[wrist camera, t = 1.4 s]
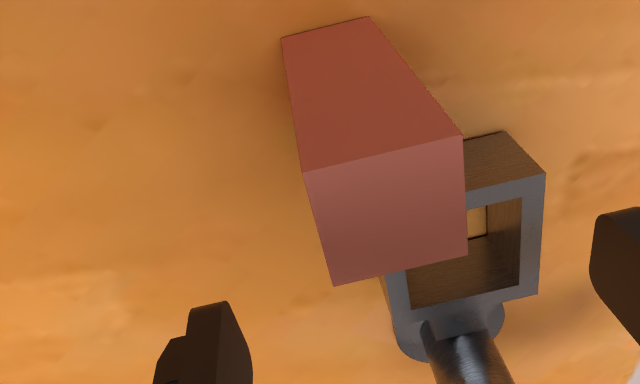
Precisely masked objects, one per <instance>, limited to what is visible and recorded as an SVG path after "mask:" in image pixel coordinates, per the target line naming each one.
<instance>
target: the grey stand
mask: <svg viewBox="0 0 640 384" xmlns="http://www.w3.org/2000/svg"><path fill="white" fill-rule="evenodd" d="M463 156H464V177H465V198H466V210H469V209H473V208H478V207H482V206H486V205H487V232H488V236H485V237H480V238H476V239H472V240H468V255H466V256H462V257H457V258H453V259H449V260H445V261H440V262H436V263H432V264H428V265H423V266H419V267H415V268H411V269H407V270H402V271H398V272H394V273H390V274H385V275H381V276H379V279H380V283H381V286H382V289H383V292H384V296H385V299H386V302H387V305H388V309H389V312H390V315H391V318H392V322H393V329H394V333H395V336H396V340H397V343H398V346H399V347H400V349H401V350H402V351H403V353H405V354H406V355H407V356H409V357H410V358H412V359H415V360H417V361H421V362H426V363H430V366H431V368H432V371H433V374H434V377H435V380H436V382H437V384H515V382H514V380H513V378H512V376H511V375H510V373H509V371H508V369H507V367H506V365H505V363H504V361H503V359H502V357H501V355H500V353H499V351H498V349H497V347H496V345H495V343H494V341H493V339H494V338H495V337H496V335H497V334H498V333H499V331H500V329H501V327H502V325H503V322H504V317H505V313H504V308H503V305H502V302H506V301H510V300H515V299H519V298H523V297H527V296H532V295H536V294H538V282H539V268H540V253H541V238H542V223H543V208H544V193H545V178H546V172H545V171H544V170H543V169H542V168H541V167H540V166H539V165H538V164H537V163H536V162H535V161H534V160H533V159H532V158H531V157H530V156H529V155H528V154H527V153H526V152H525V151H524V150H523V149H522V148H521V147H520V146H519V145H518V144H517V143H516V142H515V140H514V139H513V138H512V137H511V136H510V135H509V134H508V133H507V132H506V131H505V132H501V133H497V134H493V135H488V136H484V137H480V138H476V139H472V140H468V141H464V142H463Z"/></svg>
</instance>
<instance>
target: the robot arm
mask: <svg viewBox="0 0 640 384" xmlns="http://www.w3.org/2000/svg"><path fill="white" fill-rule="evenodd" d="M589 274H590V279H591V282H592V285H593V287H594V289H595V291H596V292H597V294H598V296H599V297H600V298H601V299H602V301H603V302H604V303H605V304H606V305H607V307H608V308H609V309H610V310H611V311H612V313H613V314H614V315H615V316H616V317H617V319H618V320H619V321H620V322H621V324H622V325H623V326H624V327H625V328H626V330H627V331H628V332H629V333H630V334H631V336H632V337H633V338H634V339H635V341H636V342H637V343H638V344H639V345H640V207H632V208H628V209H623V210H619V211H615V212H610V213H606V214H602V215H600V216H598V217H597V219H596V222H595V228H594V235H593V242H592V250H591V257H590V264H589ZM153 384H253V369H252V361H251V356H250V352H249V348H248V345H247V343H246V341H245V338H244V336H243V334H242V332H241V329H240V327H239V325H238V323H237V320H236V318H235V316H234V314H233V311H232V309H231V307H230V305H229V303H228V302H227V301H222V302H218V303H213V304H209V305H205V306H200V307H196V308H192V309H191V310H190V313H189V317H188V323H187V330H186V336H181V337H177V338H173V339H171V340H170V341H169V343H168V345H167V346H166V348H165V350H164V351H163V353H162V354H161V356H160V358H159V359H158V361H157V365H156V369H155V374H154V379H153Z"/></svg>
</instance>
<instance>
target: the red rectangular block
mask: <svg viewBox="0 0 640 384" xmlns="http://www.w3.org/2000/svg"><path fill="white" fill-rule="evenodd" d="M281 44H282V50H283V57H284V63H285V69H286V76H287V82H288V88H289V94H290V101H291V107H292V113H293V120H294V126H295V132H296V138H297V145H298V151H299V157H300V164H301V170H302V175H303V178H304V182H305V186H306V189H307V193H308V197H309V200H310V204H311V208H312V211H313V215H314V219H315V222H316V226H317V229H318V233H319V237H320V240H321V244H322V248H323V251H324V255H325V259H326V262H327V266H328V269H329V273H330V277H331V280H332V284H333V287H334V286H339V285H343V284H347V283H351V282H356V281H360V280H364V279H368V278H373V277H377V276H381V275H385V274H390V273H394V272H398V271H402V270H407V269H411V268H415V267H419V266H423V265H428V264H432V263H436V262H440V261H445V260H449V259H453V258H457V257H462V256H466V255H468V240H467V219H466V198H465V177H464V156H463V135H462V133H461V132H460V131H459V129H458V128H457V127H456V126H455V124H454V123H453V122H452V120H451V119H450V118H449V117H448V115H447V114H446V113H445V112H444V110H443V109H442V108H441V107H440V105H439V104H438V103H437V102H436V100H435V99H434V98H433V97H432V95H431V94H430V93H429V92H428V90H427V89H426V88H425V87H424V85H423V84H422V83H421V82H420V80H419V79H418V78H417V76H416V75H415V74H414V73H413V71H412V70H411V69H410V68H409V66H408V65H407V64H406V63H405V61H404V60H403V59H402V58H401V56H400V55H399V54H398V53H397V51H396V50H395V49H394V48H393V46H392V45H391V44H390V43H389V41H388V40H387V39H386V38H385V36H384V35H383V34H382V33H381V31H380V30H379V29H378V27H377V26H376V25H375V24H374V22H373V21H372V20H371V19H370V17H369V16H368V17H364V18H360V19H356V20H352V21H348V22H344V23H340V24H336V25H332V26H328V27H324V28H320V29H316V30H312V31H308V32H304V33H300V34H296V35H291V36H287V37H283V38H281Z"/></svg>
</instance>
